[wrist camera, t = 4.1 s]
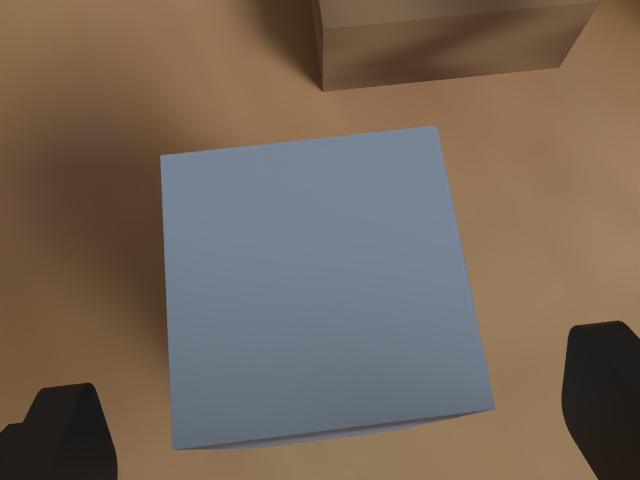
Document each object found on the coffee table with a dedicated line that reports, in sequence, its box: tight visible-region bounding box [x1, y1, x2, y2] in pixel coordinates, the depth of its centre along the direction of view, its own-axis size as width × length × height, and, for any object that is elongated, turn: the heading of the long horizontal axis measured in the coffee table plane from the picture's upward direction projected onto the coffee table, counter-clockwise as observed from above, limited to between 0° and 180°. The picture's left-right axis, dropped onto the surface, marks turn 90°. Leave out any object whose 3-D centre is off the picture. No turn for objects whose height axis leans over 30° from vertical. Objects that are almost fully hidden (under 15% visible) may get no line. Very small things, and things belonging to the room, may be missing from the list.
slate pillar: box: [160, 125, 495, 450], centre depth 14 cm, size 4×4×11 cm
